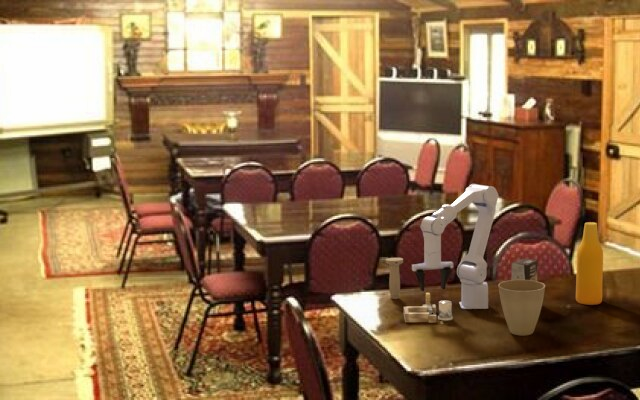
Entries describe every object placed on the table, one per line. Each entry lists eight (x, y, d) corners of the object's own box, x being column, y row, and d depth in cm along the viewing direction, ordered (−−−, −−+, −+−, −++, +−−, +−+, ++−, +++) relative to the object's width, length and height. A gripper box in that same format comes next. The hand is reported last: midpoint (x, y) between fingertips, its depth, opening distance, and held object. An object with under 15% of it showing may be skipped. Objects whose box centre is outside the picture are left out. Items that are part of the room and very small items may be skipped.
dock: (435, 310, 332) (435, 302, 332) (438, 322, 318) (438, 314, 318) (402, 311, 332) (402, 303, 332) (405, 322, 319) (405, 314, 318)
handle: (404, 299, 348) (404, 260, 345) (388, 300, 346) (387, 261, 344) (401, 295, 352) (400, 257, 350) (384, 297, 351) (384, 258, 349)
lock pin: (429, 305, 337) (429, 292, 336) (432, 313, 326) (432, 301, 325) (425, 305, 337) (425, 292, 336) (428, 313, 326) (428, 301, 325)
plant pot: (527, 323, 315) (528, 277, 313) (553, 335, 301) (554, 287, 299) (489, 328, 310) (489, 282, 308) (513, 341, 296) (514, 293, 294)
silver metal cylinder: (452, 316, 325) (452, 300, 324) (453, 321, 320) (453, 304, 319) (437, 316, 325) (436, 300, 324) (438, 321, 320) (438, 304, 319)
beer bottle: (574, 303, 337) (576, 225, 332) (577, 297, 345) (579, 220, 341) (600, 306, 333) (603, 226, 329) (603, 299, 342) (605, 221, 337)
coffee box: (526, 309, 332) (527, 265, 329) (510, 306, 336) (510, 262, 333) (537, 303, 339) (538, 259, 336) (521, 300, 343) (521, 257, 340)
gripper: (448, 247, 328) (448, 284, 330) (408, 250, 324) (409, 288, 327) (455, 251, 321) (455, 289, 323) (415, 254, 317) (415, 293, 320)
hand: (432, 289), depth 324 cm, fingers open, 7 cm apart
